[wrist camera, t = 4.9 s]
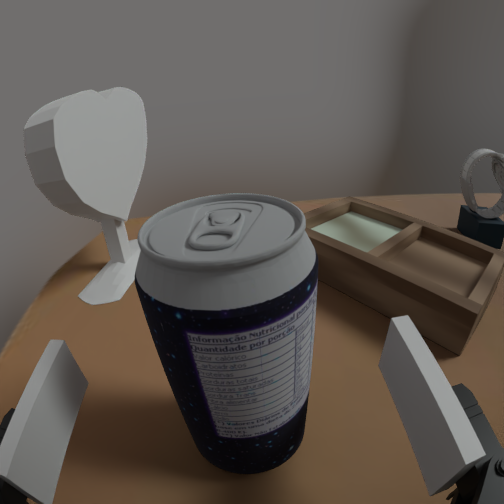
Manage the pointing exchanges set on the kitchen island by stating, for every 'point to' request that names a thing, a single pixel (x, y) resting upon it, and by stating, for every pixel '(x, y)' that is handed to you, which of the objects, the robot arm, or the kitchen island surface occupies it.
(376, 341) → the kitchen island surface
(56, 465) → the robot arm
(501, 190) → the watch
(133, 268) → the heart sculpture
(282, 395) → the beverage can
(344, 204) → the brown divided tray
